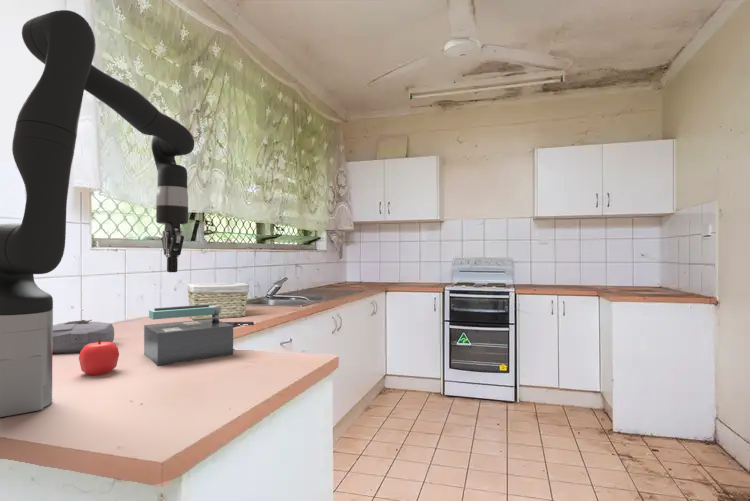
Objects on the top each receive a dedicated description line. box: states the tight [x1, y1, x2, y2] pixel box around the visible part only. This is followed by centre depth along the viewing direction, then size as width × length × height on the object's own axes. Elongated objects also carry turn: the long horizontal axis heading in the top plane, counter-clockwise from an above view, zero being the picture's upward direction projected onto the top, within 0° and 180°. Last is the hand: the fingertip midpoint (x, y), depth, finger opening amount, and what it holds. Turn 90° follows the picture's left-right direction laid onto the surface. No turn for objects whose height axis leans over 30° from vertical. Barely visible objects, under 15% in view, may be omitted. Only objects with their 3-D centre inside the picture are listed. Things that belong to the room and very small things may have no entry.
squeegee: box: [223, 321, 254, 328], centre depth 162 cm, size 14×15×3 cm
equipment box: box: [143, 313, 234, 367], centre depth 119 cm, size 16×19×10 cm
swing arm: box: [148, 304, 221, 320], centre depth 121 cm, size 18×5×3 cm, turn 129°
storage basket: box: [187, 282, 250, 321], centre depth 190 cm, size 24×16×15 cm
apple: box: [78, 338, 120, 376], centre depth 101 cm, size 8×8×8 cm
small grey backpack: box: [52, 319, 115, 354], centre depth 126 cm, size 15×8×20 cm
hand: (172, 272), depth 112 cm, fingers closed
